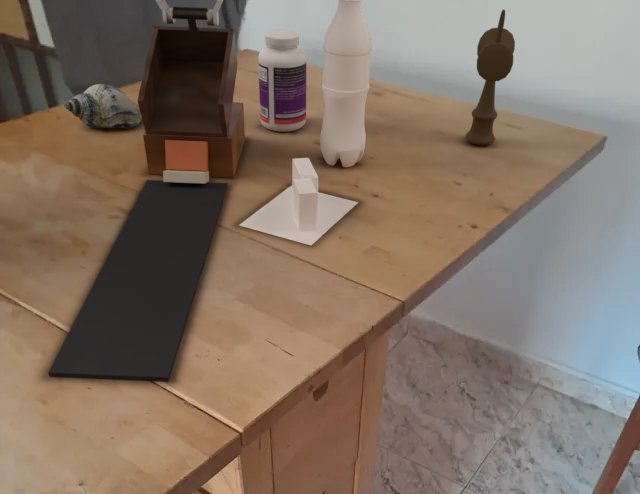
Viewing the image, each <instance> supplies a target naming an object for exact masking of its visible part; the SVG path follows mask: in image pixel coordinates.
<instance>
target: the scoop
mask: <svg viewBox="0 0 640 494" xmlns="http://www.w3.org/2000/svg"><path fill="white" fill-rule="evenodd" d="M172 8H173V17H174V19H176V20H187V25H188V26H175V25H172V26H171V25H153V28H152V32H151V37H150V40H149V46H148V50H147V53H146V54H147V55H146V59H145V64H144V68H143V73H142V77H141V82H140V87H139V92H138V96H137V101H136V102H138V105H139V109H140V113H141V121H142V124H143V129H144V133H145V132H146V134H149V135H173V136H197V137H221V138H228V133H229V125H230V118H231V110H232V103H233V102H234V95H235V88H236V87H235V86H236V79H237V71H238V66H239V65H238V54H237V42H236V35H235V34H236V33H235V29H234V28H222V27H221V28H220V27H199V26H198V21H207V20H208V18H207V11H208V9H209V7H208V6H207V7H206V6H186V5H184V6H183V5H173V6H172Z"/></svg>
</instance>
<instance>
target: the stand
mask: <svg viewBox="0 0 640 494" xmlns="http://www.w3.org/2000/svg"><path fill="white" fill-rule="evenodd" d="M245 131H246V129H245V107H244V102H236V101H235V102H234V101H233V103H232V110H231V118H230V125H229V133H228V138H221V137H197V136H173V135H149V134H146V132H145V131H144V133H143V134H142V138H143V144H144V152H145V157H146V158H145V160H146V165H147V173H148V175H161V176H163V171H165V170H168V169H166V152H165V140H180V141H204V142H208V171H209V178H235V174H236V170H237V167H238V164H239V161H240V157H241V154H242V150H243V148H244V144H245V140H246V132H245Z"/></svg>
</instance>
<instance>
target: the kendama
mask: <svg viewBox="0 0 640 494" xmlns="http://www.w3.org/2000/svg"><path fill="white" fill-rule="evenodd" d="M505 21H506V10H505V8H504V9H502V10H501V12H500V15H499V20H498V23H497V27H492V28H490V29H487V30H486V31H484V32H483V34H482V35H481V37H480V38H479V41H478V42H477V43H478V44H477V48H476V55H477V58H476V70H477V73H478V76H480V77H481V78H482V79H483V80H484V81H485V82H484V85H483V88H482V91H481V94H480V97H479V100H478V102H477V105H476V107H475V108H474V109H473V110H471V117H472V123H471V126H470V129H469V130H468V131H467V133H466V134H465V140H466V141H467V143H469V144H472V145H476V146H489V145H492V144H493V143H494V142H495V140H496V138H495V137H496V136H495V134H494V122H495V120H496V119H497V117H498V112H497V110H496V105H495V102H496V101H495V99H496V97H495V95H496V82H500V81H502V80H504V79H506V78H507V77H508V75H509V74H510V73H511V70H512V68H513V66H514V52H515V47H516V41H515V37H514V35H513V33H512V32H511V31H510V30H508V29H507V28H504V26H505Z"/></svg>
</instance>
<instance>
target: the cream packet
mask: <svg viewBox="0 0 640 494" xmlns="http://www.w3.org/2000/svg"><path fill="white" fill-rule="evenodd" d="M162 177H163V180H162V181H164V182H175V183H199V184H205V183H207V182H208V183H210V177H209V171H196V170H172V169H168V170H165V171H163V175H162Z"/></svg>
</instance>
